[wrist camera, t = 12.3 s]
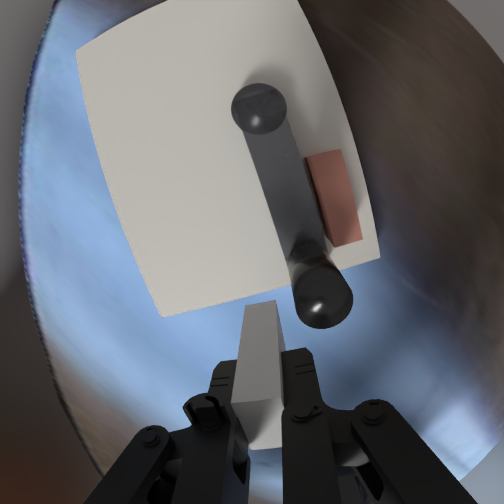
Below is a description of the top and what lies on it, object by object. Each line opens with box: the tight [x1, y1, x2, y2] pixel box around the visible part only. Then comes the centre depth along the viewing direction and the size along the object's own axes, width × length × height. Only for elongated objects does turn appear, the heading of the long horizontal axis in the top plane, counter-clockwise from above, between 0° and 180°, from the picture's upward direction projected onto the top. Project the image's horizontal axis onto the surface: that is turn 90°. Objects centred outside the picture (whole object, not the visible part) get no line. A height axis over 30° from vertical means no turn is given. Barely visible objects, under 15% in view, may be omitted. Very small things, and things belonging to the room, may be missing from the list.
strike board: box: [75, 0, 380, 317], centre depth 18 cm, size 26×19×5 cm
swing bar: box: [231, 83, 353, 329], centre depth 16 cm, size 14×4×8 cm, turn 19°
